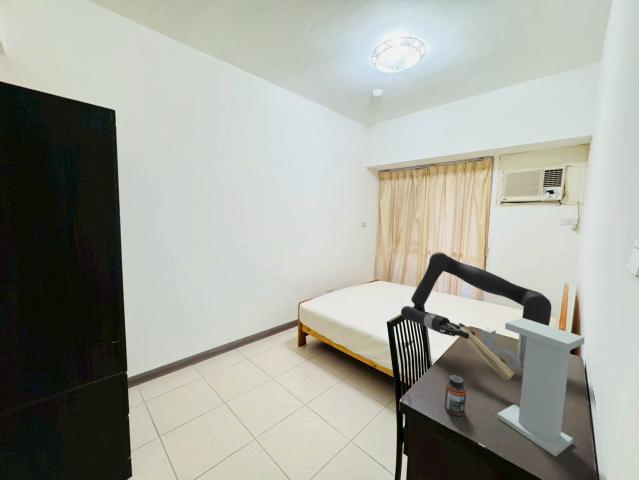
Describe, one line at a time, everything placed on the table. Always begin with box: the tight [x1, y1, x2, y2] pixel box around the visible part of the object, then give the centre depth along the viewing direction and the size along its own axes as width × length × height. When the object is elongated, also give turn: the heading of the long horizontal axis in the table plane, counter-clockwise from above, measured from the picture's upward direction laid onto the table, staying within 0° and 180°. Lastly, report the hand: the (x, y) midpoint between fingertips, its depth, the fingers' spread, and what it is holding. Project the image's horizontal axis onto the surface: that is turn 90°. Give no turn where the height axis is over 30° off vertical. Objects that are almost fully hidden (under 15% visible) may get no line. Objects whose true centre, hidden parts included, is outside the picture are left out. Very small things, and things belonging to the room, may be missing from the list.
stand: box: [496, 317, 585, 457], centre depth 77 cm, size 10×15×32 cm, turn 26°
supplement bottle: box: [444, 374, 467, 417], centre depth 85 cm, size 6×6×11 cm
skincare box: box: [479, 326, 497, 353], centre depth 122 cm, size 6×4×12 cm
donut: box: [493, 347, 521, 373], centre depth 108 cm, size 10×4×10 cm, turn 51°
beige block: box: [459, 327, 515, 381], centre depth 99 cm, size 3×22×3 cm, turn 24°
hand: (471, 335), depth 104 cm, fingers closed on beige block, 3 cm apart
